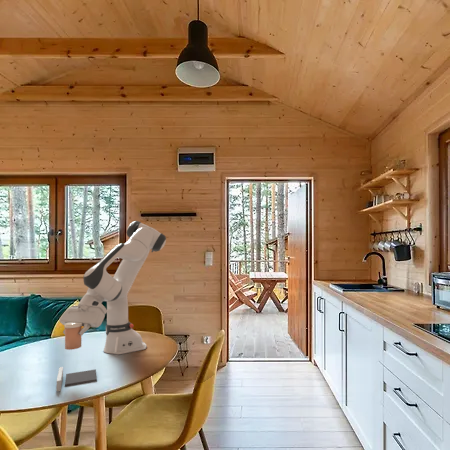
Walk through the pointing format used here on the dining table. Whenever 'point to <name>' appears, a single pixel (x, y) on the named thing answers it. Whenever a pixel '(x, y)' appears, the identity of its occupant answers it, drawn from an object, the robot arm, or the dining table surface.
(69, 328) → the jar
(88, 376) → the plate
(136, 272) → the robot arm
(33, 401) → the dining table surface
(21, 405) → the dining table surface
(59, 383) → the divider
